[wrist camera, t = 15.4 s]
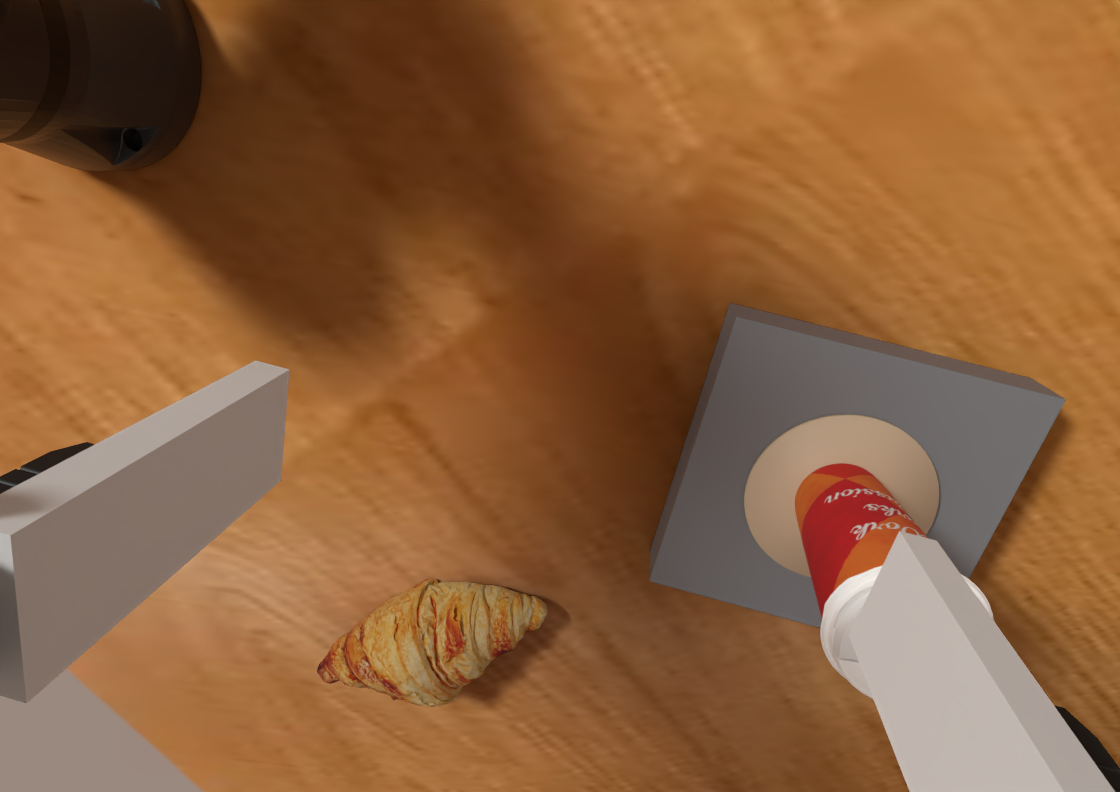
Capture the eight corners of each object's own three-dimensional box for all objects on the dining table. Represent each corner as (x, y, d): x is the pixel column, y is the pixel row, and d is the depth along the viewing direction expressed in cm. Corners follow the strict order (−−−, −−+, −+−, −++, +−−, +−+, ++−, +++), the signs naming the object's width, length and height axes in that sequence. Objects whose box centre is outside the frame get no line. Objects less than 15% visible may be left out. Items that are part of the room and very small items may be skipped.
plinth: (649, 550, 52) (649, 584, 48) (730, 302, 45) (737, 318, 41) (906, 619, 51) (928, 661, 47) (1031, 378, 44) (1069, 401, 40)
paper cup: (928, 492, 43) (1047, 642, 30) (843, 572, 45) (918, 742, 32) (831, 423, 42) (908, 546, 29) (751, 509, 45) (789, 656, 32)
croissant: (541, 542, 57) (507, 552, 50) (577, 662, 55) (547, 691, 48) (335, 609, 62) (275, 627, 55) (361, 721, 60) (302, 756, 53)
